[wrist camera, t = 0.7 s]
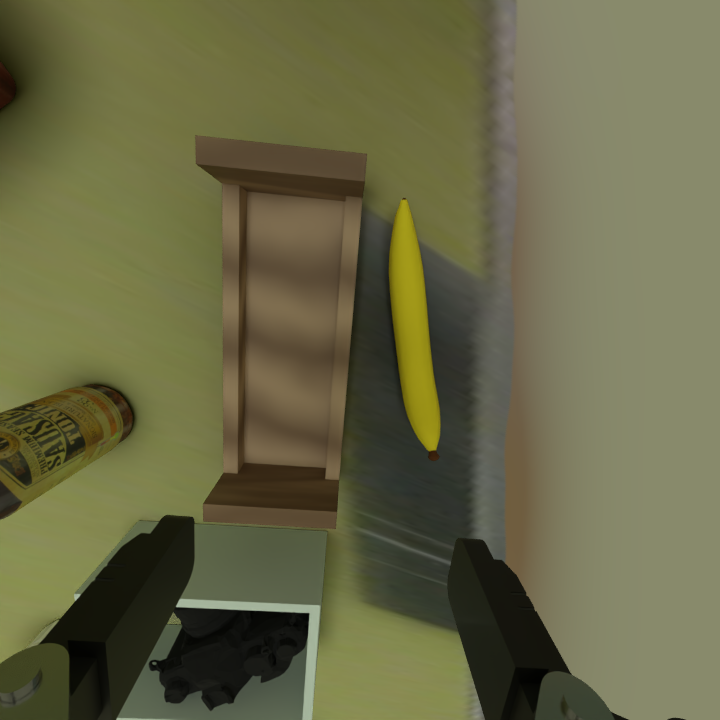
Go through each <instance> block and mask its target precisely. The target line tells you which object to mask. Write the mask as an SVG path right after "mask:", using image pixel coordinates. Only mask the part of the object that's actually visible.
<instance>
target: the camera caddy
mask: <svg viewBox="0 0 720 720" xmlns="http://www.w3.org/2000/svg"><path fill="white" fill-rule="evenodd" d="M158 523H159V522H154V521H138V522H137V523H136V524H135V525H134V526H133V528H132V529H131V530H130V531H129V532H128V533H127V534H126V535H125V537H124V538H123V539H122V540H121V541H120V542H119V543H118V545H117V546H116V547H115V548H114V549H113V550H112V551H111V553H110V554H109V555H108V556H107V557H106V558H105V559H104V561H103V562H102V563H101V564H100V565H99V566H98V567H97V569H96V570H95V571H94V572H93V573H92V574H91V575H90V576H89V578H88V579H87V580H86V581H85V582H84V583H83V584H82V586H81V587H80V588H79V589H78V590H77V591H76V592H75V594H74V596H75V601H76V600H77V599H78V598H79V596H80V595H81V594H82V593H83V592H84V590H85V589H86V588H87V587H88V586H89V584H90V583H91V582H92V581H94V580H95V577H96V576H97V575H98V574H99V573H100V571H101V570H102V569H103V568H104V567H106V566H107V564H108V562H109V561H110V560H111V558H112V557H113V556H114V555H115V554H116V553H117V551H118V550H119V549H120V548H121V547H122V546H123V545H124V544H126V543H127V542H129V541H130V540H132V539H133V538H134V537H136V536H137V535H139V534H140V533H151V532H152V531H153V529H154V528H155V527H156V525H157V524H158ZM194 535H195V560H194V567H193V571H192V574H191V577H190V580H189V582H188V584H187V586H186V588H185V590H184V592H183V594H182V596H181V598H180V600H179V602H178V603H177V605H176V607H187V608H209V609H230V610H252V611H274V612H296V613H310V615H309V630H308V638H307V642H306V646H305V648H304V649H303V650H302V651H301V652H300V653H298V654H297V655H296V656H293V659H292V662H291V664H290V666H289V668H288V669H287V670H286V671H285V673H284V674H282V675H281V676H279V677H277V678H274V679H272V680H270V681H267V682H264V683H261V676H252V678H251V679H250V680H249V681H248V682H247V684H246V685H245V686H244V687H243V688H242V689H241V690H240V692H239V693H238V694H237V696H236V698H235V700H234V703H232V704H228V703H225V704H222V705H220V706H217V707H215V708H214V709H213V710H212V711H210V710H209V709H208V708H207V706H206V705H205V704H204V702H203V701H202V699H201V696H202V691H198V692H195V693H192V694H189V695H187V697H186V698H185V699H184V701H182V702H181V703H179V704H173V703H170V702H167V703H166V701H165V699H164V692H165V688H164V686H163V685H161V682H159V673H160V672H158V671H157V670H156V671H150V668H149V662H150V661H151V660H159V661H161V660H163V659H166V658H167V656H168V654H169V652H170V650H171V648H172V646H173V644H174V642H175V640H176V638H177V636H178V634H179V632H180V630H181V628H182V625H172V624H166V626H165V628H164V630H163V632H162V634H161V636H160V638H159V639H158V641H157V643H156V645H155V647H154V649H153V651H152V653H151V655H150V656H149V658H148V660H147V662H146V664H145V666H144V668H143V670H142V672H141V674H140V675H139V677H138V679H137V681H136V683H135V685H134V687H133V689H132V691H131V692H130V694H129V696H128V698H127V700H126V702H125V704H124V706H123V708H122V709H121V711H120V713H119V715H118V717H117V719H116V720H312V712H313V701H314V690H315V678H316V667H317V656H318V645H319V633H320V620H321V607H322V594H323V581H324V568H325V555H326V543H327V531H313V530H295V529H277V528H260V527H242V526H225V525H207V524H194ZM152 664H153V665H156V662H152Z"/></svg>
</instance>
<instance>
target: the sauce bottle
mask: <svg viewBox="0 0 720 720" xmlns="http://www.w3.org/2000/svg"><path fill="white" fill-rule="evenodd" d="M132 421H133V418H132V413H131V410H130V408H129V406H128V404H127V402H126V401H125V399H124V398H123V397H121V396H120V394H119V393H118V392H115V391H114V390H112V389H109V388H106V387H103V386H98V385H93V384H90V385H86V386H84V387H74V388H70V389H67V390H64V391H61V392H58V393H55V394H53V395H50V396H47V397H44V398H41V399H39V400H36V401H33V402H30V403H27V404H24V405H22V406H19V407H16V408H13V409H10V410H7V411H5V412H2V413H0V520H1V519H4V518H6V517H8V516H10V515H12V514H13V513H15V512H16V511H18V510H19V509H21V508H22V507H24V506H25V505H27V504H28V503H30V502H31V501H33V500H34V499H36V498H37V497H39V496H41V495H42V494H44V493H45V492H47V491H49V490H50V489H52V488H53V487H55V486H56V485H58V484H59V483H61V482H63V481H64V480H66V479H67V478H69V477H70V476H72V475H73V474H75V473H76V472H78V471H79V470H81V469H83V468H84V467H86V466H87V465H89V464H90V463H92V462H93V461H95V460H97V459H98V458H100V457H101V456H103V455H104V454H106V453H107V452H109V451H110V450H112V449H113V448H114V447H115V446H116V445H117V444H118V443H120V442H121V441H122V440H124V439H125V438H126V437H127V436H128V434H129V433H130V431H131V427H132V424H133V422H132Z"/></svg>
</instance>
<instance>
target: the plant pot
mask: <svg viewBox="0 0 720 720" xmlns="http://www.w3.org/2000/svg"><path fill="white" fill-rule="evenodd" d="M15 91H16V86H15V83H14V80H13V78H12V76H11V75H10V73H9V72H8V71H7V69H6V68H5V67H4V65H3V64H2V63H1V61H0V109H1V108H2V107H4V106H5V105H6V104H8V103H9V102H10V101H11V100H12V99H13V97H14V96H15Z"/></svg>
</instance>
